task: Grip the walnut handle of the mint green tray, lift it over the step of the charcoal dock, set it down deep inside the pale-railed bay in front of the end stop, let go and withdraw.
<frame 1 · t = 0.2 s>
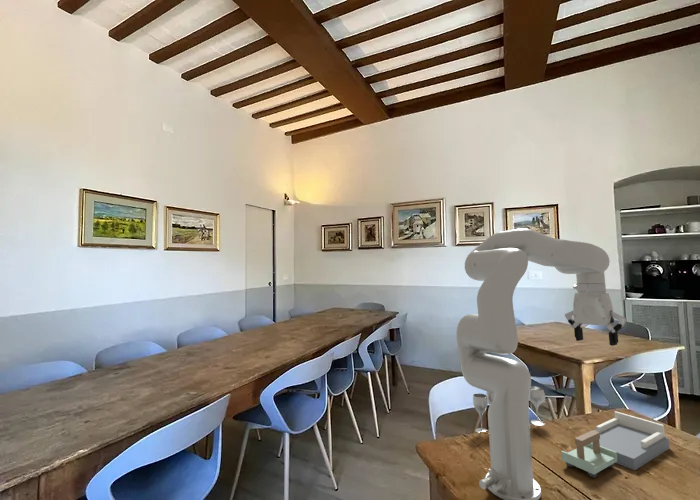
hand: (595, 342, 108), 31 cm above the table, fingers open, 9 cm apart
dock: (623, 448, 101), on the table
mint green tray: (590, 466, 92), on the table
goblet set: (511, 427, 118), on the table
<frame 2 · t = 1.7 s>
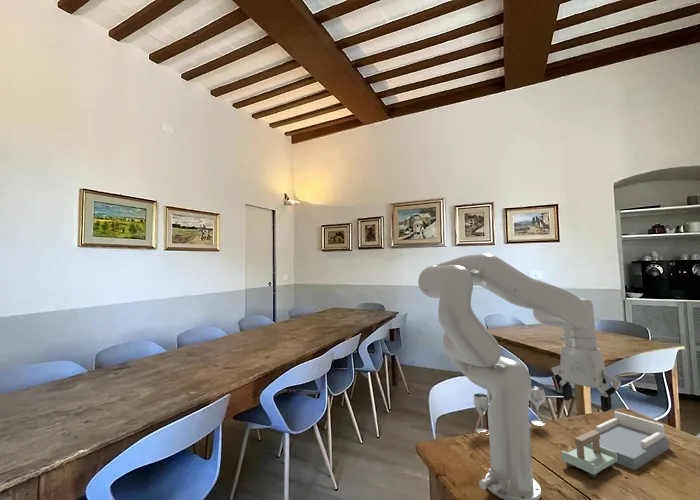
hand: (586, 404, 94), 16 cm above the table, fingers open, 9 cm apart
nothing on the table moved.
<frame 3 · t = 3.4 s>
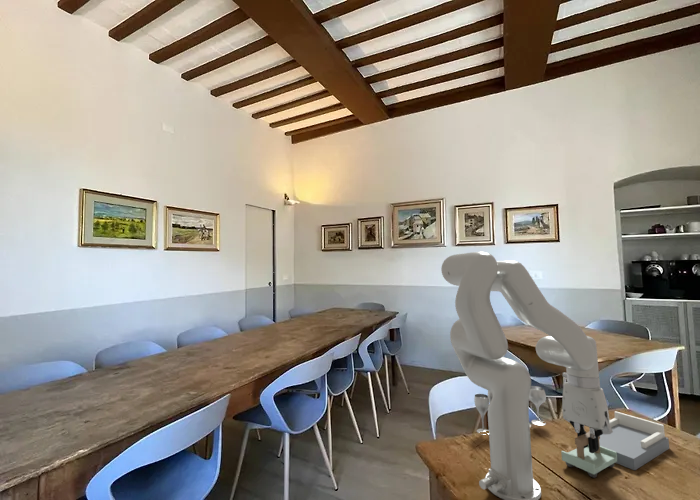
hand: (588, 449, 93), 5 cm above the table, fingers closed on mint green tray
mint green tray: (589, 466, 92), on the table, touching gripper
everything else where it was.
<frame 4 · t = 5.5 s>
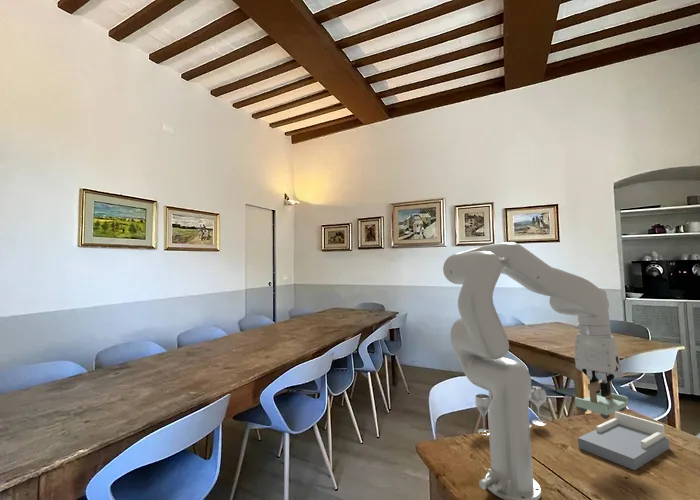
hand: (600, 394, 98), 18 cm above the table, fingers closed on mint green tray
mint green tray: (602, 411, 97), point 13 cm above the table, touching gripper
everything else where it was.
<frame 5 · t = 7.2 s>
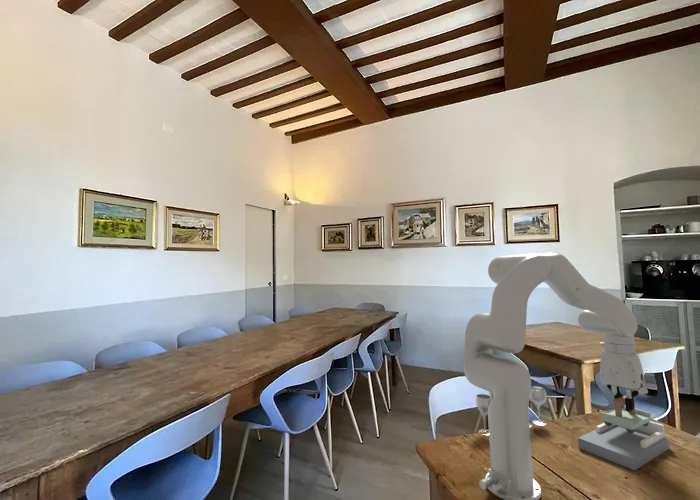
hand: (624, 408, 104), 11 cm above the table, fingers closed on mint green tray
mint green tray: (626, 425, 103), point 6 cm above the table, touching gripper
everything else where it was.
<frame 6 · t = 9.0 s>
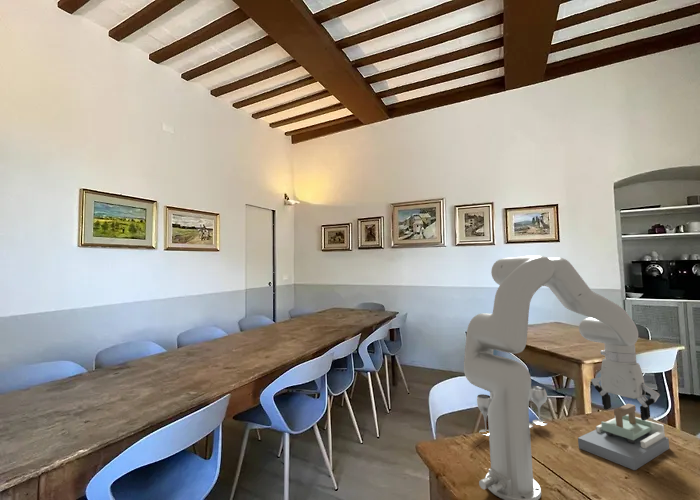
hand: (625, 413, 104), 9 cm above the table, fingers open, 9 cm apart
mint green tray: (627, 435, 103), point 3 cm above the table, touching dock
everything else where it was.
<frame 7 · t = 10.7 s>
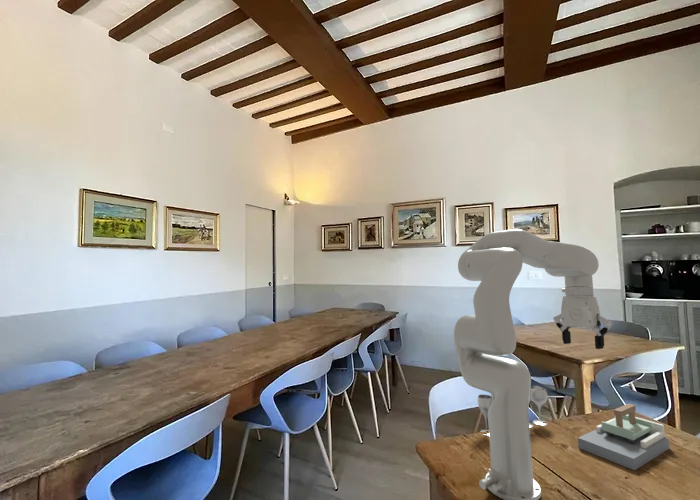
hand: (582, 346, 108), 30 cm above the table, fingers open, 9 cm apart
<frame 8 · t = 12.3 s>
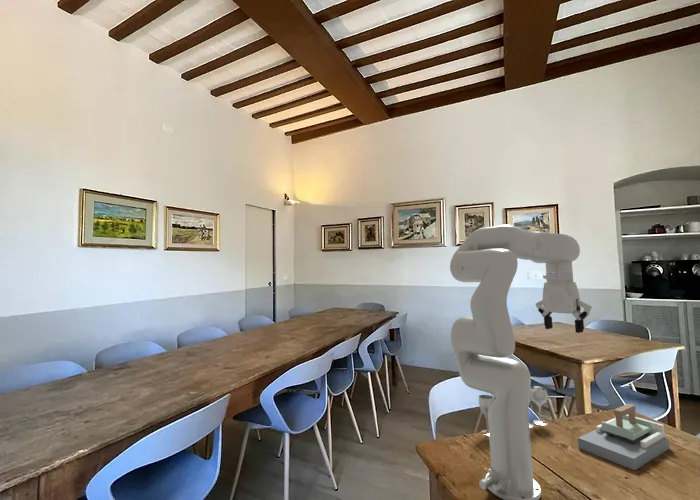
hand: (563, 330, 111), 34 cm above the table, fingers open, 9 cm apart
at the end: mint green tray 0.1 cm from the target spot, point 3.0 cm above the table; mint green tray tilted 0°; the gripper is holding nothing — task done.
